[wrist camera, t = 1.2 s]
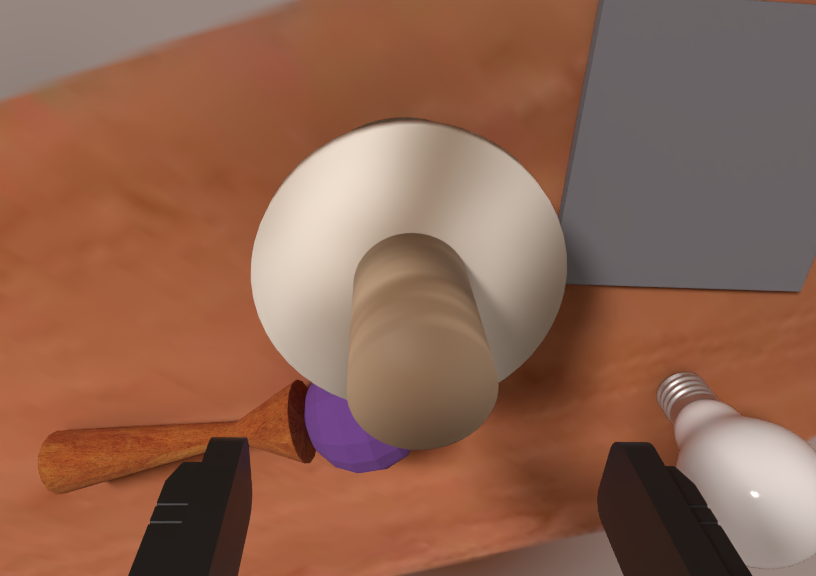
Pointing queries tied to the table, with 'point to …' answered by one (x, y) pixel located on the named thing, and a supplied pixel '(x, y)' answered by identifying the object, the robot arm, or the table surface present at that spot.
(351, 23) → the table surface
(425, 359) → the lid
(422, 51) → the table surface
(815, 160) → the mat
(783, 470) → the lightbulb
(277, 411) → the kendama
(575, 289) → the table surface
